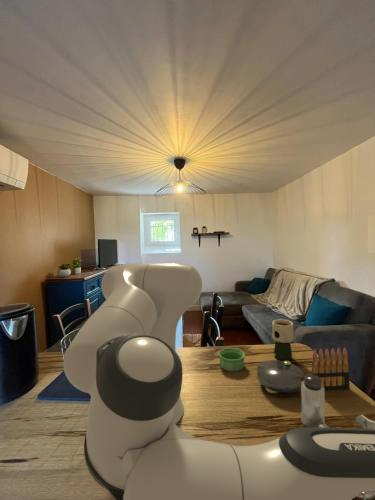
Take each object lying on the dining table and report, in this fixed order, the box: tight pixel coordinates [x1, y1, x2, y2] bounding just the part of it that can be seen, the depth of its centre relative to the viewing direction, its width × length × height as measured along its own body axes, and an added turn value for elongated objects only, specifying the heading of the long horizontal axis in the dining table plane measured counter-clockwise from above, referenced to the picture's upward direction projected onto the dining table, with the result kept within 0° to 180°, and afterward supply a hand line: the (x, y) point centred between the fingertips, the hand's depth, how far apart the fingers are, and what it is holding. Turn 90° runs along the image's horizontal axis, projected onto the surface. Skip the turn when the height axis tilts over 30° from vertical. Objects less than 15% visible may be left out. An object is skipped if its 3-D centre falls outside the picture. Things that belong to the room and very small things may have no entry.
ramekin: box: [218, 347, 246, 372], centre depth 89 cm, size 9×9×4 cm
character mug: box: [271, 318, 294, 361], centre depth 93 cm, size 11×7×13 cm, turn 2°
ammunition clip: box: [310, 347, 350, 392], centre depth 74 cm, size 11×2×12 cm, turn 92°
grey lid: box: [256, 359, 305, 396], centre depth 76 cm, size 13×13×5 cm
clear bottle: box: [300, 373, 325, 428], centre depth 61 cm, size 5×5×11 cm
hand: (340, 422), depth 54 cm, fingers open, 8 cm apart
